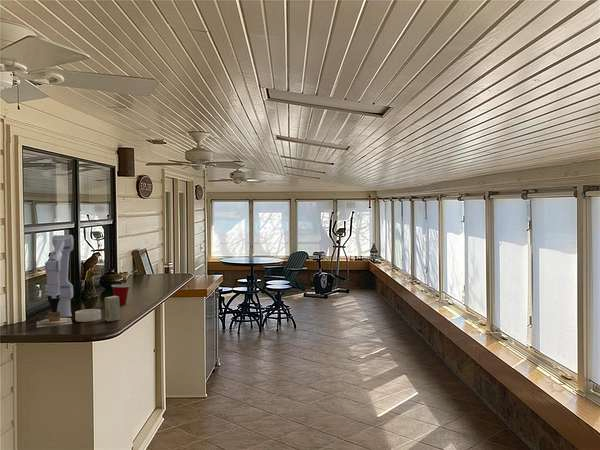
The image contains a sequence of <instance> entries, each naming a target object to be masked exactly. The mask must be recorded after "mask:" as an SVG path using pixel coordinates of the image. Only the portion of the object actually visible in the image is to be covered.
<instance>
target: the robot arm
mask: <svg viewBox="0 0 600 450" xmlns="http://www.w3.org/2000/svg"><path fill="white" fill-rule="evenodd" d="M51 240H52V246H53V251H51V252H50V255H49V257H48V260H47V261H45V263H44V270H45V275H46V292H45V293H44V295H45V296H47V300H48V302H49V305H50V310H51V311H52V312H57V311H60V318H68V317H72V316H73V315H72V312H71V311H72V309H71V300H72V299H73V297H74V285H73V284H72V283H71V282H70V281H69V266H70V265H69V264H70V254H71V252H72V251H73V250H74V241H75V240H74V236H73V235H72V234H67V235H65V234H64V235H63V234H62V235H61V234H60V235H59V234H58V235H57V234H56V235H53V236H52V239H51ZM51 311H50V312H51Z"/></svg>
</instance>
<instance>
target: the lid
mask: <svg viewBox="0 0 600 450" xmlns="http://www.w3.org/2000/svg"><path fill="white" fill-rule="evenodd" d="M69 318H70V317H69ZM69 318H68V317H60V311H57V312H52V311H48V318H45V319H41V320H39V325H55V326H60V325H59V324H64V323H68V322H69Z"/></svg>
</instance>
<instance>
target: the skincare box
mask: <svg viewBox="0 0 600 450" xmlns="http://www.w3.org/2000/svg"><path fill="white" fill-rule="evenodd" d="M120 306H121V305H120V304H119V296H114V295H112V296H106V297H104V313H105V315H104V317H105V318H104V319H105V320H106V321H105V320H104V321H105V322H109V321H111V322H113V321H119V320H121V307H120Z"/></svg>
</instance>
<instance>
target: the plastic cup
mask: <svg viewBox="0 0 600 450" xmlns="http://www.w3.org/2000/svg"><path fill="white" fill-rule="evenodd" d="M130 287H131V285H129V284H111V289H112V293H113V296H119V304H120V306H125V305H126V304H127V299H128V292H129V290H130Z"/></svg>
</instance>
